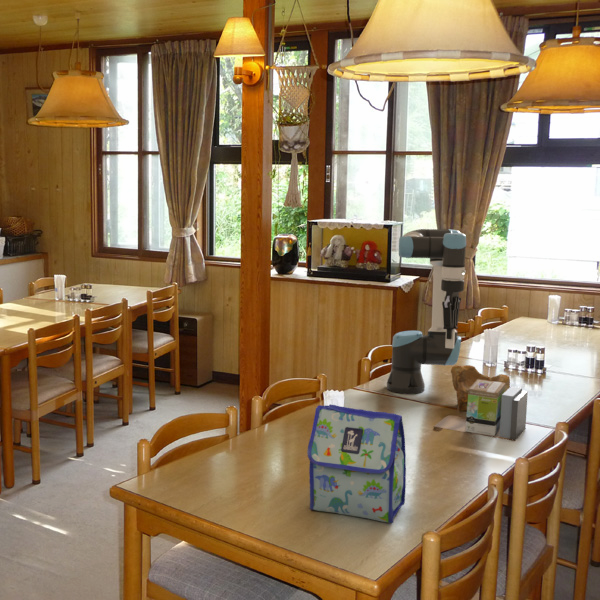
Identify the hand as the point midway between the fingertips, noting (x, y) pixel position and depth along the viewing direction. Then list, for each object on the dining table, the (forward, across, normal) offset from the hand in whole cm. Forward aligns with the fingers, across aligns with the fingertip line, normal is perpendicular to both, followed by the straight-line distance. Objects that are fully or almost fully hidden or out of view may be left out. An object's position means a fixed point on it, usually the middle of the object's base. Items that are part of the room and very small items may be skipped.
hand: (449, 347), depth 251 cm
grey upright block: (+25, -3, -22) cm, 34 cm away
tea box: (+25, -2, -14) cm, 29 cm away
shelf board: (+26, -3, -12) cm, 29 cm away
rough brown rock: (+27, +19, -4) cm, 33 cm away
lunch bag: (+26, -80, -4) cm, 84 cm away
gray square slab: (+25, -3, -25) cm, 36 cm away
